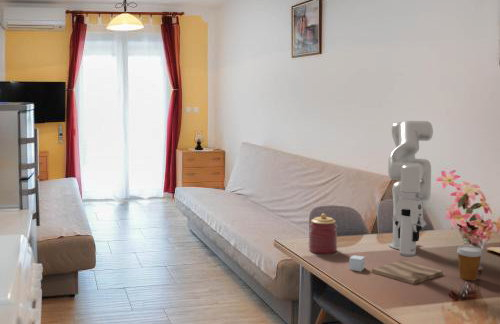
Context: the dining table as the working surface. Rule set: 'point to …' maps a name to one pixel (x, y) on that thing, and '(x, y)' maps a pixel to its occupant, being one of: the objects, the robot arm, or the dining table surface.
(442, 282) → the dining table surface
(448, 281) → the dining table surface
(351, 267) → the grey-blue block
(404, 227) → the travel mug
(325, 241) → the canister
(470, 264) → the disposable coffee cup
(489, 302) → the dining table surface
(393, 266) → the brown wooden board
